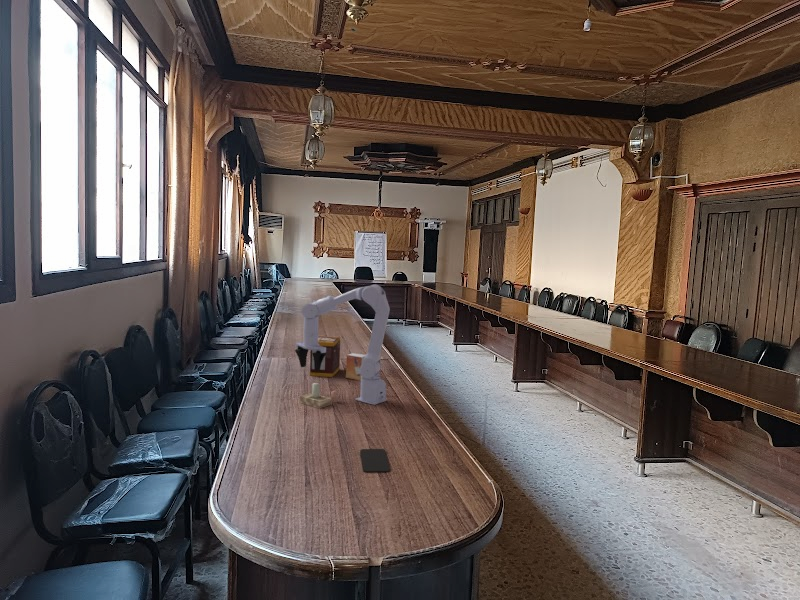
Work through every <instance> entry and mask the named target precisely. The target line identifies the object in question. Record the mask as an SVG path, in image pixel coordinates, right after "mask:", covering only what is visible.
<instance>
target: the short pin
mask: <svg viewBox="0 0 800 600" xmlns="http://www.w3.org/2000/svg"><path fill="white" fill-rule="evenodd" d="M330 398H331V404H332V403H333V404H336V403H338V402H339V391H338V390H331V392H330Z"/></svg>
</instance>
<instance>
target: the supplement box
mask: <svg viewBox="0 0 800 600" xmlns="http://www.w3.org/2000/svg"><path fill="white" fill-rule="evenodd" d="M318 344H319V345H320V346H323V347H326V355H325V357H324V358H323V361H322V363H321V367H320V370H317V371H316V370H315V368H314V357H313V354H312V353H314V352H316V351H312V350H309V351H310V352H309V353H310V354H309V355H310V356H309V358H310V359H309V360H310V362H309V364H310V365H309V367H310V368H309V376H313V377H324V378H325V377H327V378H333V377H334V376H335V374H336V373H338V371H340V363H341V362H340V359H341V356H340V355H341V337H340V336H332V335H331V336H328V335H318Z"/></svg>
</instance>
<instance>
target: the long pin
mask: <svg viewBox="0 0 800 600" xmlns="http://www.w3.org/2000/svg"><path fill="white" fill-rule="evenodd" d="M311 386H312V389H311V390H312V392H311V393H312V398H313V399H318V398H319V395H320V387H321V385H320V383H318V382H313V383H312V385H311Z"/></svg>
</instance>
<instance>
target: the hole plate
mask: <svg viewBox="0 0 800 600" xmlns="http://www.w3.org/2000/svg"><path fill="white" fill-rule="evenodd" d="M299 403H301V404H303V405H308V406H310V407H314V408H316V409H322V408H325V407H328V406H331V405H332V402H331V397H328V396H325V395H321V394H319V398H318V399H313V398H312V392H309V393H306V394H303V395H300V396H299Z"/></svg>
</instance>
